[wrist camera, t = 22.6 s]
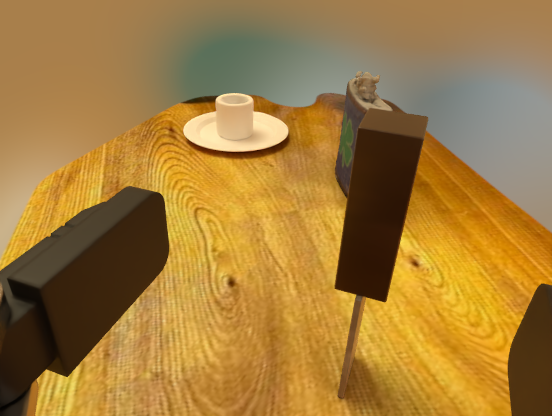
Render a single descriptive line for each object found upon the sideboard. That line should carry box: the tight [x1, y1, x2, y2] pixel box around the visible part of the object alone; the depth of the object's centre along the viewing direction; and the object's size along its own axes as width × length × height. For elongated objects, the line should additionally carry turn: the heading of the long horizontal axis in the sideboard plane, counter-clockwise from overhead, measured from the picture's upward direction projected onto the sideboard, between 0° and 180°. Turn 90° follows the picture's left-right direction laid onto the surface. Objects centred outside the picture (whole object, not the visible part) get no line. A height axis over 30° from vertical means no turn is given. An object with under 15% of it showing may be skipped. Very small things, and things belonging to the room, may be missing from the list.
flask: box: [335, 71, 393, 198], centre depth 42 cm, size 9×3×11 cm, turn 4°
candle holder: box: [183, 93, 288, 152], centre depth 52 cm, size 12×12×4 cm
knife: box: [335, 108, 428, 398], centre depth 22 cm, size 2×3×15 cm
